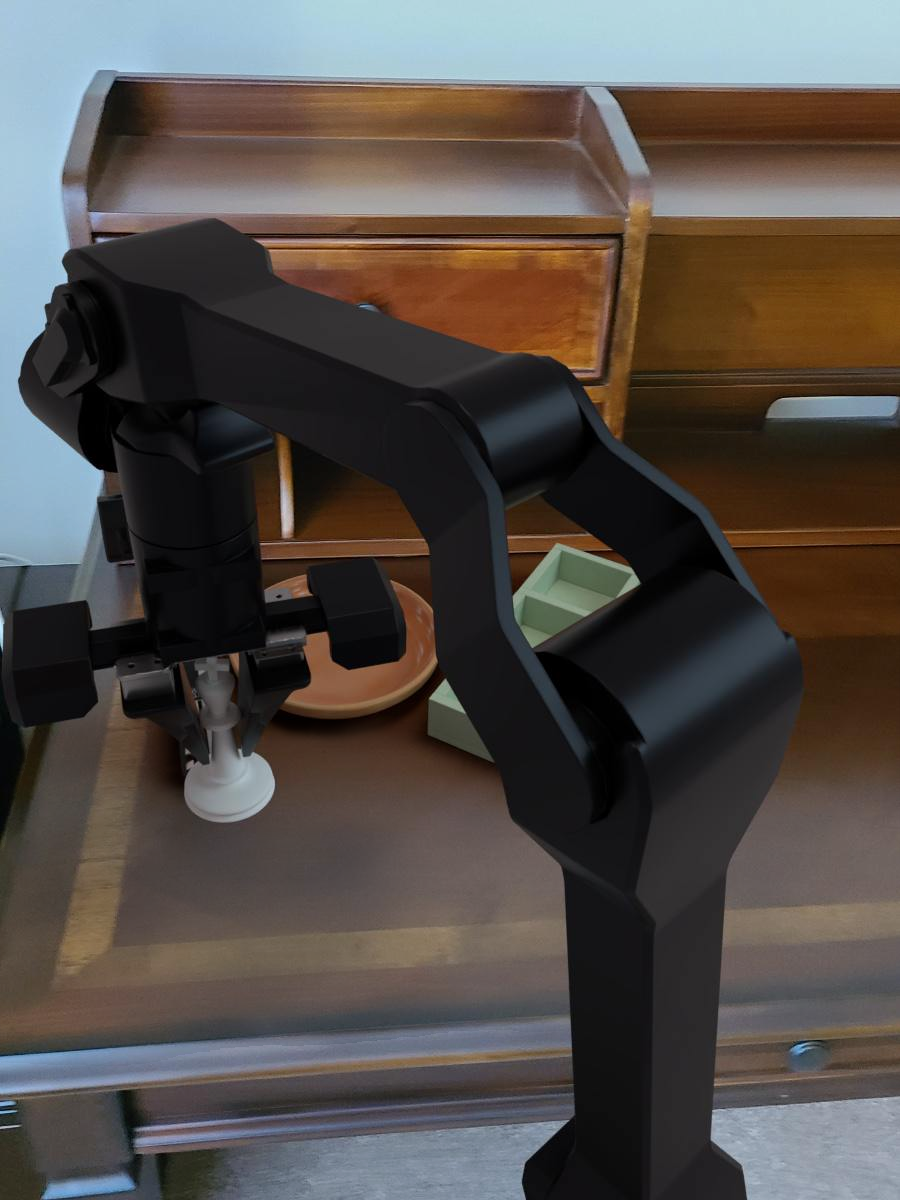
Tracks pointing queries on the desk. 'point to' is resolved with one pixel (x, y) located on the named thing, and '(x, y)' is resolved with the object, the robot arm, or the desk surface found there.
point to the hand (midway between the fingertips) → (225, 754)
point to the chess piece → (225, 755)
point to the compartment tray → (538, 624)
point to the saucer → (368, 686)
